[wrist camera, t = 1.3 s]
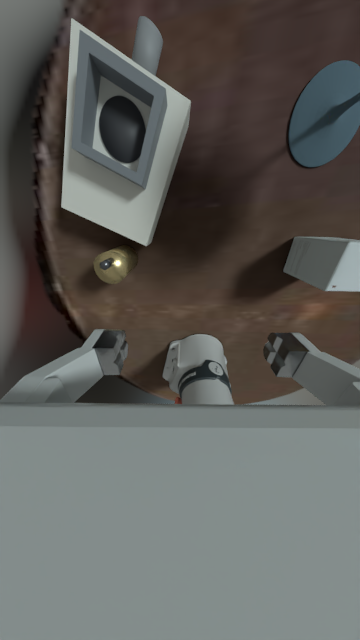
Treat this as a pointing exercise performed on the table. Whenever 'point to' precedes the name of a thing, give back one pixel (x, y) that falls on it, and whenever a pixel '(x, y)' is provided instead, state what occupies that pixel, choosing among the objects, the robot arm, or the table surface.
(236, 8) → the table surface
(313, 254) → the supplement box
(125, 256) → the spout can
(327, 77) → the cocktail glass
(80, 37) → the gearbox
